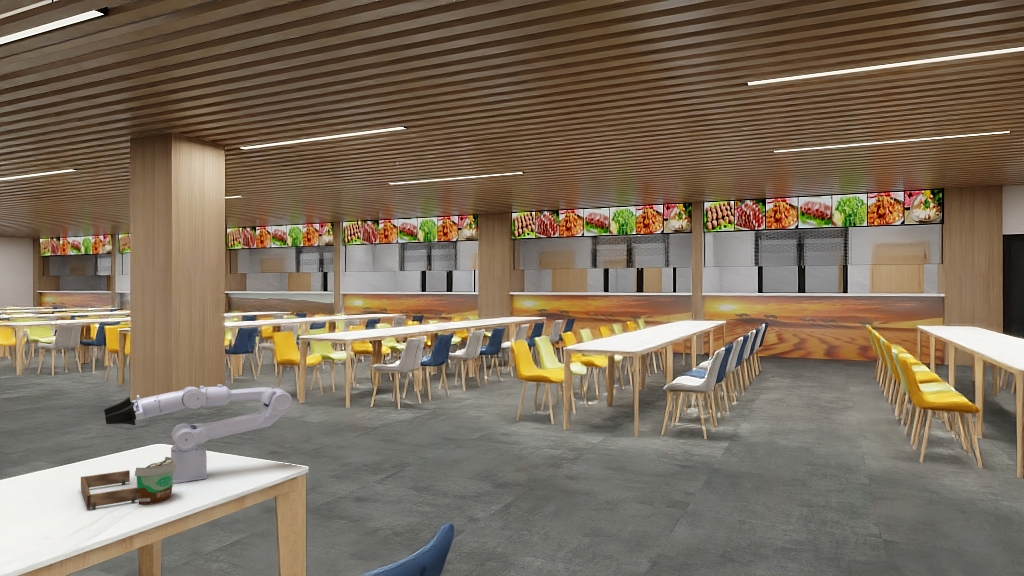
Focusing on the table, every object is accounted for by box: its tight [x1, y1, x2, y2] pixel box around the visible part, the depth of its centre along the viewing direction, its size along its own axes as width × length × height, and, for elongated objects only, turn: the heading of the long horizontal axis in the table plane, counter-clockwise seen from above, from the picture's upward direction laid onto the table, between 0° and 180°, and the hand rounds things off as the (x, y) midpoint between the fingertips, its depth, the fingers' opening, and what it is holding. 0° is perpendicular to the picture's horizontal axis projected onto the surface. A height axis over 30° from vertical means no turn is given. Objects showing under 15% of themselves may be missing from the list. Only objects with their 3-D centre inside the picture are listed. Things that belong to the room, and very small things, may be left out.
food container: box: [134, 456, 176, 506], centre depth 189 cm, size 12×6×10 cm, turn 168°
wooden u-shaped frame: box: [80, 469, 138, 510], centre depth 192 cm, size 12×21×4 cm, turn 36°
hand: (105, 416), depth 197 cm, fingers open, 7 cm apart
